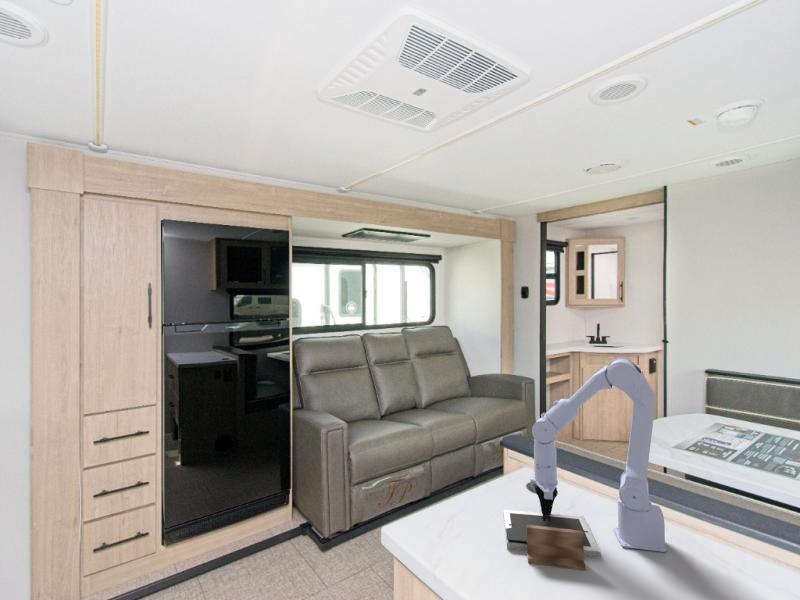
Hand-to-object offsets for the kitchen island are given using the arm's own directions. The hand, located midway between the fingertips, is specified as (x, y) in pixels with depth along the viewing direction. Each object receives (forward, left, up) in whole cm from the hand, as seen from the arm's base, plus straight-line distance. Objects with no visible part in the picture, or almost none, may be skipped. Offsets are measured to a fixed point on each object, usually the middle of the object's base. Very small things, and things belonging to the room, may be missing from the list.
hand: (546, 513), depth 111 cm
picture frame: (0, +8, -2) cm, 8 cm away
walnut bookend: (0, +19, -1) cm, 19 cm away
